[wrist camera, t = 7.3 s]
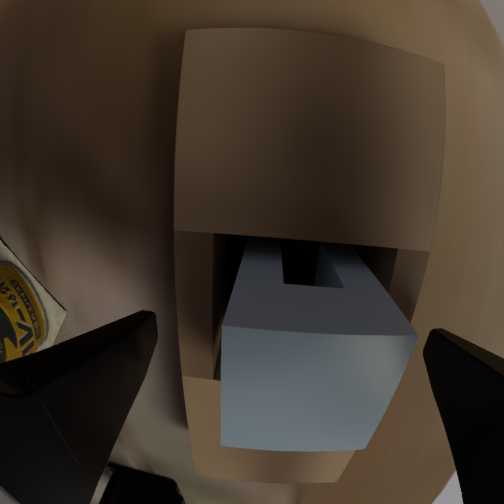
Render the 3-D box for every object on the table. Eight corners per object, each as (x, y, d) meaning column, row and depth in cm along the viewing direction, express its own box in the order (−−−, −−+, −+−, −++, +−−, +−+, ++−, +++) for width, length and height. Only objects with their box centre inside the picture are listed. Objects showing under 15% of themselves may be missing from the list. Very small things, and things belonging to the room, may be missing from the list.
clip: (243, 323, 13) (220, 445, 7) (249, 235, 12) (221, 325, 5) (332, 330, 13) (364, 448, 7) (349, 244, 12) (418, 335, 5)
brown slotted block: (204, 437, 16) (195, 474, 13) (206, 58, 10) (185, 30, 7) (331, 444, 15) (336, 481, 13) (407, 81, 9) (443, 64, 6)
